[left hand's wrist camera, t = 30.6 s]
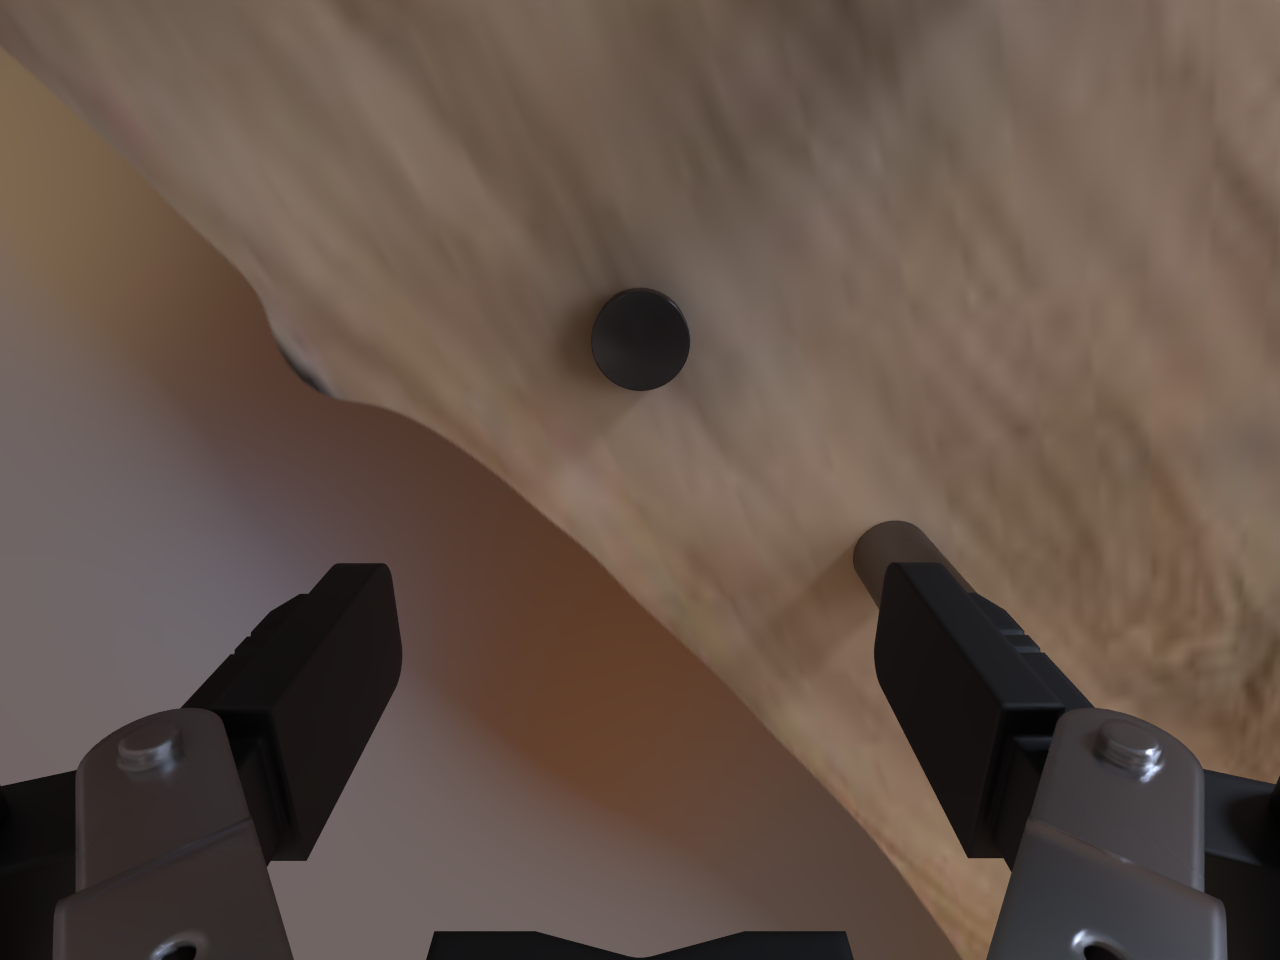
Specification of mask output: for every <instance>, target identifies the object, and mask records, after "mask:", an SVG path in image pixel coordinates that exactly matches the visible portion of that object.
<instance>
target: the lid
mask: <svg viewBox="0 0 1280 960" xmlns="http://www.w3.org/2000/svg"><path fill="white" fill-rule="evenodd" d="M591 344H592V351H593V356H594V358H595V361H596V363H597V365H598V367H599V368H600V370H601V371H602V373H603V374H604V375H605V376H606V377H607V378H608V379H609V380H611V381H612V382H613V383H615V384H617V385H619V386H621V387H623V388H626V389H630V390H635V391H646V390H652V389H655V388H658V387H661V386H663V385H665V384H666V383H668V382H669V381H671V380H672V379H673V378H674V377H675V376H676V375H677V374H678V373H679V372H680V370H681V369H682V367H683V366H684V364H685V362H686V359H687V357H688V353H689V348H690V335H689V329H688V326H687V323H686V321H685V318H684V316H683V314H682V312H681V310H680V309H679V307H678V306H677V305H676V304H675V302H673V301H672V300H671V299H670V298H669V297H667V296H666V295H664V294H663V293H661V292H658V291H656V290H652V289H647V288H634V289H629V290H626V291H623V292H621V293H619V294H617V295H615V296H614V297H613V298H611V299H610V300H609V301H608V302H607V303H606V304H605V305H604V306H603V308H602V309H601V311H600V313H599V315H598V317H597V319H596V322H595V324H594V327H593V331H592V340H591Z"/></svg>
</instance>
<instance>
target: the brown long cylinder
mask: <svg viewBox="0 0 1280 960" xmlns="http://www.w3.org/2000/svg"><path fill="white" fill-rule="evenodd" d="M853 560H854V567H855V570H856V572H857V574H858V575H859V577H860V579H861V580H862V582H863V584H864V585H865V587H866V589H867V590H868V592H869V594H870V595H871V597H872V598H873V600H874V602H875V603H876V605H877V607H878V608H879V610H880V603H881V596H882V589H883V582H884V576H885V572H886V569H887V567H888V565H889V564H890V563H892V562H939V563H941V564H942V565H944V566H945V568H946V569H947V570H948V571H949V572H950V573H951V575H952V576H953V577H954V578H955V579H956V580H957V582H958V583H959V584H960V585H961V586H962V587H963V588H964V590H965V591H966V592H967V593H977V592H976V591H975V590H974V589H973V588H972V587H971V586H970V585H969V583H968V582H967V581H966V580H965V579H964V578H963V577H962V576H961V574H960V573H959V572H958V571H957V570H956V569H955V568H954V567H953V565H952V564H951V563H950V562H949V561H948V560H947V559H946V558H945V556H944V555H943V554H942V553H941V552H940V551H939V550H938V549H937V547H936V546H935V545H934V544H933V543H932V542H931V541H930V540H929V538H928V537H927V536H926V535H925V534H924V533H923V532H922V531H921V530H920V529H919V528H918V527H916V526H915V525H913V524H910V523H907V522H903V521H890V522H885V523H882V524H879V525H877V526H875V527H873V528H871V529H870V530H869V531H867V532H866V533H865V534H864V535H863V536H862V538H861V539H860V540H859V542H858V544H857V546H856V548H855V551H854V559H853Z"/></svg>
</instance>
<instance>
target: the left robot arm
mask: <svg viewBox="0 0 1280 960" xmlns="http://www.w3.org/2000/svg"><path fill="white" fill-rule="evenodd" d="M874 661H875V669H876V674H877V678H878V681H879V684H880V686H881V688H882V690H883V692H884V694H885V696H886V698H887V700H888V702H889V704H890V706H891V708H892V710H893V712H894V714H895V716H896V718H897V720H898V722H899V723H900V725H901V727H902V729H903V731H904V733H905V735H906V737H907V739H908V741H909V743H910V745H911V747H912V749H913V751H914V753H915V755H916V757H917V759H918V761H919V763H920V765H921V767H922V769H923V771H924V773H925V775H926V776H927V778H928V780H929V782H930V784H931V786H932V788H933V790H934V792H935V794H936V796H937V798H938V800H939V802H940V804H941V806H942V808H943V810H944V812H945V814H946V816H947V818H948V820H949V822H950V824H951V826H952V828H953V829H954V831H955V833H956V835H957V837H958V839H959V841H960V843H961V845H962V847H963V849H964V851H965V853H966V855H967V857H968V858H1004V860H1005V862H1006V863H1007V865H1008V867H1009V869H1010V870H1011V872H1012V873H1011V877H1010V880H1009V884H1008V887H1007V890H1006V894H1005V897H1004V901H1003V904H1002V908H1001V911H1000V914H999V918H998V921H997V925H996V928H995V931H994V935H993V938H992V942H991V945H990V948H989V952H988V955H987V959H986V960H1280V776H1279V779H1278V781H1277V783H1276V784H1271V783H1266V782H1261V781H1257V780H1252V779H1247V778H1243V777H1238V776H1233V775H1229V774H1224V773H1219V772H1215V771H1210V770H1205V769H1203V768H1202V766H1201V764H1200V762H1199V761H1198V759H1197V758H1196V757H1195V755H1194V754H1193V753H1192V752H1191V751H1190V750H1189V749H1188V748H1187V747H1186V746H1185V745H1184V744H1182V743H1181V742H1180V741H1179V740H1178V739H1176V738H1175V737H1173V736H1172V735H1170V734H1169V733H1167V732H1166V731H1164V730H1162V729H1160V728H1159V727H1157V726H1155V725H1153V724H1151V723H1149V722H1146V721H1144V720H1142V719H1139V718H1137V717H1134V716H1131V715H1128V714H1125V713H1121V712H1117V711H1113V710H1108V709H1100V708H1095V707H1094V706H1093V705H1092V704H1091V703H1090V702H1089V701H1088V700H1087V699H1086V697H1085V696H1084V695H1083V694H1082V693H1081V692H1080V691H1079V690H1078V689H1077V688H1076V687H1075V685H1074V684H1073V683H1072V682H1071V681H1070V680H1069V679H1068V678H1067V677H1066V676H1065V675H1064V674H1063V672H1062V671H1061V670H1060V669H1059V668H1058V667H1057V666H1056V665H1055V664H1054V663H1053V662H1052V661H1051V659H1050V658H1049V657H1048V656H1047V655H1046V654H1045V653H1041V652H1040V648H1039V646H1038V645H1037V644H1036V643H1035V642H1034V641H1033V640H1032V639H1031V638H1030V637H1029V636H1028V635H1024V630H1023V629H1022V628H1021V627H1020V626H1019V625H1018V624H1017V623H1016V621H1015V620H1014V619H1013V618H1012V617H1011V616H1010V615H1009V614H1008V613H1007V612H1006V611H1005V610H1004V609H1002V608H1000V607H999V606H997V605H995V604H994V603H992V602H990V601H989V600H987V599H985V598H984V597H982V596H980V595H979V594H977V593H967V592H966V591H965V590H964V588H963V587H962V586H961V585H960V584H959V583H958V582H957V580H956V579H955V578H954V577H953V576H952V575H951V573H950V572H949V571H948V570H947V569H946V568H945V566H944V565H942V564H941V563H939V562H892V563H890V564H889V565H888V567H887V569H886V572H885V576H884V582H883V589H882V596H881V603H880V610H879V617H878V624H877V631H876V638H875V646H874ZM401 666H402V644H401V637H400V630H399V623H398V616H397V609H396V602H395V595H394V588H393V581H392V576H391V572H390V570H389V568H388V566H387V565H386V564H384V563H338V564H335V565H334V566H332V567H331V569H330V570H329V571H328V572H327V573H326V574H325V575H324V577H323V578H322V579H321V580H320V581H319V582H318V583H317V585H316V586H315V587H314V588H313V589H312V590H311V592H310V593H309V594H299V595H297V596H296V597H294V598H292V599H291V600H289V601H287V602H286V603H284V604H282V605H281V606H279V607H277V608H276V609H274V610H272V611H271V612H269V614H268V615H267V616H266V617H265V618H264V619H263V620H262V621H261V622H260V623H259V624H258V625H257V626H256V628H255V629H254V630H253V631H252V632H251V636H250V637H246V638H245V639H244V640H243V642H242V643H241V644H240V645H239V646H238V647H237V648H236V649H235V653H234V654H231V655H229V657H228V658H227V659H226V660H225V661H224V662H223V663H222V664H221V665H220V666H219V667H218V668H217V670H216V671H215V672H214V673H213V674H212V675H211V676H210V677H209V678H208V679H207V680H206V681H205V682H204V683H203V685H202V686H201V687H200V688H199V689H198V690H197V691H196V692H195V693H194V694H193V695H192V696H191V697H190V698H189V700H188V701H187V702H186V703H185V704H184V705H183V706H182V707H181V708H180V709H172V710H167V711H163V712H159V713H156V714H152V715H149V716H146V717H143V718H141V719H138V720H136V721H134V722H131V723H129V724H127V725H125V726H123V727H121V728H120V729H118V730H116V731H114V732H113V733H111V734H110V735H108V736H107V737H105V738H104V739H102V740H101V741H100V742H99V743H98V744H96V745H95V746H94V747H93V748H92V749H91V750H90V751H89V752H88V753H87V754H86V755H85V757H84V758H83V759H82V761H81V762H80V764H79V766H78V769H77V770H74V771H70V772H66V773H61V774H56V775H52V776H47V777H42V778H38V779H33V780H29V781H24V782H19V783H14V784H10V785H5V786H0V960H294V959H293V955H292V952H291V948H290V945H289V942H288V938H287V935H286V931H285V928H284V925H283V921H282V918H281V914H280V911H279V908H278V904H277V901H276V897H275V894H274V891H273V887H272V884H271V881H270V877H269V874H268V870H267V866H268V865H269V863H270V861H307V859H308V857H309V855H310V853H311V851H312V849H313V847H314V845H315V843H316V841H317V839H318V838H319V836H320V834H321V832H322V830H323V828H324V826H325V824H326V822H327V820H328V818H329V816H330V814H331V812H332V810H333V808H334V806H335V804H336V803H337V801H338V799H339V797H340V795H341V793H342V791H343V789H344V787H345V785H346V783H347V781H348V779H349V777H350V775H351V774H352V771H353V770H354V768H355V766H356V764H357V762H358V760H359V758H360V756H361V754H362V752H363V750H364V748H365V746H366V744H367V743H368V741H369V739H370V737H371V735H372V733H373V731H374V729H375V727H376V725H377V723H378V721H379V719H380V717H381V715H382V713H383V711H384V710H385V708H386V706H387V704H388V702H389V700H390V698H391V696H392V694H393V692H394V690H395V688H396V686H397V683H398V681H399V677H400V672H401ZM426 960H854V959H853V956H852V952H851V949H850V945H849V942H848V938H847V935H846V932H845V931H744V932H740V933H737V934H733V935H729V936H725V937H722V938H718V939H714V940H711V941H707V942H703V943H700V944H696V945H692V946H689V947H685V948H681V949H677V950H673V951H670V952H666V953H662V954H659V955H655V956H651V957H645V958H634V957H629V956H625V955H621V954H618V953H614V952H610V951H607V950H603V949H599V948H595V947H592V946H588V945H584V944H580V943H577V942H573V941H569V940H565V939H562V938H558V937H554V936H551V935H547V934H543V933H540V932H536V931H435V932H434V935H433V938H432V942H431V945H430V949H429V952H428V955H427V959H426Z"/></svg>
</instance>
